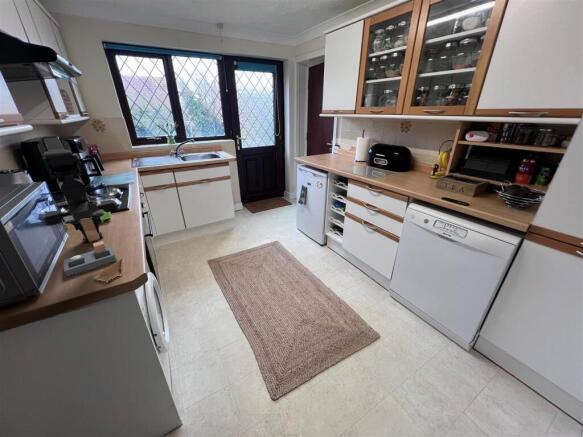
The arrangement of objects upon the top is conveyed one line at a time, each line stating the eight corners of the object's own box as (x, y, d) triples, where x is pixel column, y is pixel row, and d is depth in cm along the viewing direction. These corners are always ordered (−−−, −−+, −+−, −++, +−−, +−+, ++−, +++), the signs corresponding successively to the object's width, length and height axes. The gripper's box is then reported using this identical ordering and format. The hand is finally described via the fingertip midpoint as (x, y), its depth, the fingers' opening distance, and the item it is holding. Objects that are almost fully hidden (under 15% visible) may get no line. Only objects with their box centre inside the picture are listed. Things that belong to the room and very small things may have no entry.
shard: (122, 262, 89) (121, 258, 88) (139, 265, 87) (137, 261, 86) (93, 280, 79) (91, 276, 78) (111, 284, 77) (109, 280, 76)
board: (67, 265, 86) (60, 252, 84) (113, 250, 95) (108, 238, 92) (67, 277, 80) (60, 263, 78) (116, 260, 88) (111, 248, 86)
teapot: (116, 220, 120) (110, 204, 117) (87, 227, 113) (80, 211, 110) (112, 213, 128) (106, 199, 124) (85, 220, 121) (78, 205, 117)
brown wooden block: (88, 238, 85) (80, 218, 81) (99, 235, 87) (90, 216, 83) (89, 241, 83) (80, 221, 79) (99, 238, 84) (91, 218, 81)
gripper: (31, 205, 66) (56, 253, 73) (111, 191, 77) (126, 233, 84) (35, 196, 74) (57, 239, 80) (107, 184, 85) (121, 223, 91)
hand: (92, 233), depth 84 cm, fingers closed on brown wooden block, 3 cm apart
